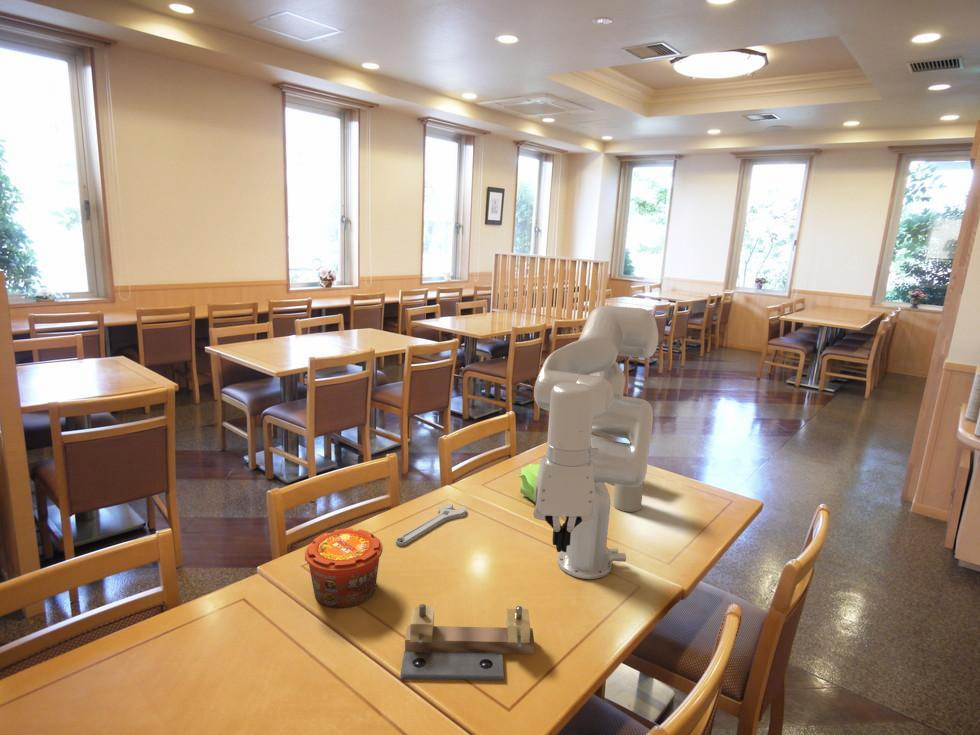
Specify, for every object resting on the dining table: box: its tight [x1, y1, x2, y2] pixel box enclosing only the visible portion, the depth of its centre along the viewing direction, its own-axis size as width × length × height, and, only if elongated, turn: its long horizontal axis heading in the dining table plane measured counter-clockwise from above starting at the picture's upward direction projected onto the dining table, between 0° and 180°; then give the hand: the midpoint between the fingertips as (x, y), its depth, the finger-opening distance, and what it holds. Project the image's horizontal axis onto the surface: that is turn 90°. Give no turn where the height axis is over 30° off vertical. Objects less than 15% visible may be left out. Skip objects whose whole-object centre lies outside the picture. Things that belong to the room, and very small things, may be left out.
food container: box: [304, 528, 384, 609], centre depth 126 cm, size 16×16×11 cm
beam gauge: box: [404, 603, 535, 655], centre depth 110 cm, size 24×7×8 cm, turn 91°
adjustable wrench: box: [395, 503, 467, 547], centre depth 156 cm, size 25×6×2 cm, turn 140°
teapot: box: [516, 463, 540, 503], centre depth 173 cm, size 15×13×11 cm
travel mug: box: [612, 480, 645, 513], centre depth 169 cm, size 8×8×18 cm
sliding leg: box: [506, 605, 531, 647], centre depth 110 cm, size 4×7×6 cm, turn 1°
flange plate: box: [399, 651, 504, 681], centre depth 106 cm, size 18×6×1 cm, turn 91°
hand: (560, 548), depth 107 cm, fingers closed
